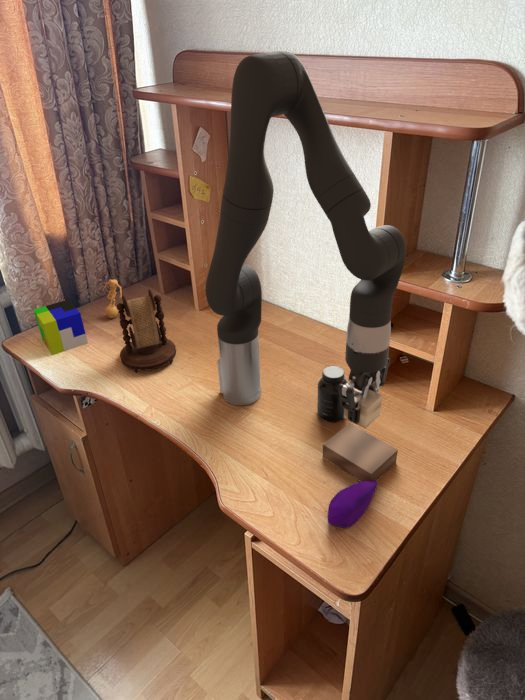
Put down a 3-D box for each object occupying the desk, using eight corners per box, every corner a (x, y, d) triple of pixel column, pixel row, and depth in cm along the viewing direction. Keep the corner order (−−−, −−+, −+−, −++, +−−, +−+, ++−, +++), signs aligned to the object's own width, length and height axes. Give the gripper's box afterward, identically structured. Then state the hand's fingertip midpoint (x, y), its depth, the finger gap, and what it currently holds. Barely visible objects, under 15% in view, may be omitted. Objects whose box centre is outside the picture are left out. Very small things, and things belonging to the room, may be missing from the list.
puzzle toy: (88, 343, 153) (80, 312, 148) (52, 355, 149) (43, 324, 143) (76, 329, 160) (69, 299, 155) (42, 339, 156) (33, 309, 150)
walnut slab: (322, 458, 113) (323, 444, 111) (348, 436, 118) (349, 423, 116) (369, 488, 106) (371, 474, 103) (395, 464, 111) (397, 450, 109)
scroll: (128, 380, 137) (113, 312, 126) (116, 352, 149) (102, 287, 138) (183, 365, 142) (174, 298, 131) (168, 339, 154) (158, 275, 143)
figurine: (98, 316, 166) (90, 281, 159) (114, 308, 170) (106, 273, 163) (117, 323, 162) (109, 287, 155) (132, 315, 166) (125, 280, 159)
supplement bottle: (327, 400, 128) (329, 358, 122) (352, 411, 124) (355, 369, 118) (311, 415, 124) (311, 373, 117) (336, 427, 120) (338, 384, 114)
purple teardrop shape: (388, 478, 102) (341, 520, 93) (385, 497, 105) (338, 540, 95) (367, 466, 105) (319, 505, 95) (364, 484, 108) (317, 525, 98)
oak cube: (343, 417, 104) (344, 397, 102) (358, 405, 107) (359, 385, 105) (365, 428, 102) (367, 408, 99) (379, 415, 105) (382, 395, 102)
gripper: (372, 317, 101) (365, 389, 111) (326, 349, 93) (323, 424, 102) (407, 330, 97) (398, 403, 106) (363, 365, 88) (357, 442, 98)
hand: (361, 413), depth 104 cm, fingers closed on oak cube, 5 cm apart
